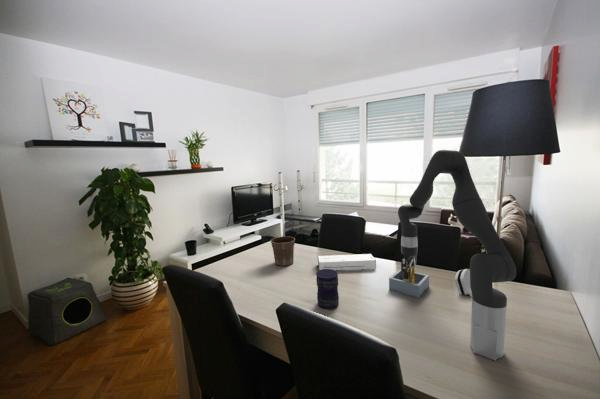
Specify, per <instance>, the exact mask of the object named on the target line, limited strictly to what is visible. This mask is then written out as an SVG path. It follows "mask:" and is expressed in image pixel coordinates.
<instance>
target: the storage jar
mask: <svg viewBox="0 0 600 399" xmlns="http://www.w3.org/2000/svg"><path fill="white" fill-rule="evenodd" d="M316 286H317V293H316V295H317V297H316V298H317V307H319V308H320V309H321V310H327V311H332V310H335V309H338V307H339V304H340V303H339V300H340V298H339V292H338V291H339V287H338V286H339V273H338V271H335V270H332V269H323V270H319V269H318V270H317V271H316Z"/></svg>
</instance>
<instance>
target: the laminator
mask: <svg viewBox="0 0 600 399" xmlns="http://www.w3.org/2000/svg"><path fill="white" fill-rule="evenodd" d="M317 264H318V271H319V270H323V269H332V270H345V271H362V270H361V269H370V270H376V268H377V266H376V265H377V260H376V259H375V257H374V256H373V254H372V253H361V254H360V253H359V254H358V253H357V254H338V255H337V254H334V255H332V254H331V255H318V256H317Z"/></svg>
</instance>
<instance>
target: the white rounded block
mask: <svg viewBox="0 0 600 399" xmlns="http://www.w3.org/2000/svg"><path fill="white" fill-rule="evenodd" d="M454 282H455V284H456V288H457V292H458V294H459V295H463V294H464V295H469V296H470V298H472V291H471V287H470V268H464V269H460V270H457V272H456V274H455V276H454Z"/></svg>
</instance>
